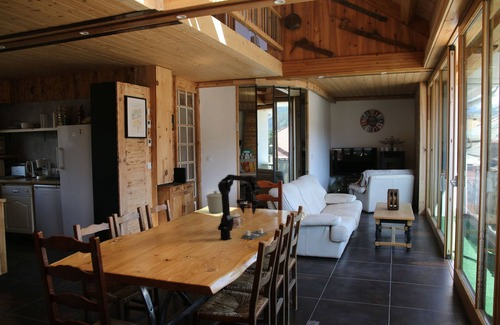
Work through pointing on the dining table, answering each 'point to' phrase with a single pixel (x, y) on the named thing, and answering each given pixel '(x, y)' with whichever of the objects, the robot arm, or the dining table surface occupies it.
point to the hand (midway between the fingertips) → (248, 213)
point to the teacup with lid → (237, 220)
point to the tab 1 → (247, 233)
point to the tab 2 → (260, 231)
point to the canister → (214, 202)
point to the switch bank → (254, 235)
